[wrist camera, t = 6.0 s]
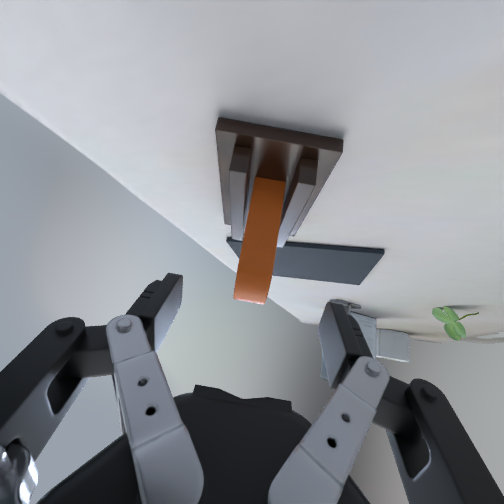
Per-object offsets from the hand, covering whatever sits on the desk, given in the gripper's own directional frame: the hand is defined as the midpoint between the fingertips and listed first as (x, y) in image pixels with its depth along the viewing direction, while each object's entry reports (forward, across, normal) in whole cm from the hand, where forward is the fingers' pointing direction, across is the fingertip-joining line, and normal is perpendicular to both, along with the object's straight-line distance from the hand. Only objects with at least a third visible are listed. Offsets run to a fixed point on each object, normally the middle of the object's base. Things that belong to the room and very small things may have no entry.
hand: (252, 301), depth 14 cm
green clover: (+34, -43, +19) cm, 58 cm away
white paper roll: (+76, -63, +60) cm, 115 cm away
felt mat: (+25, -8, +10) cm, 28 cm away
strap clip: (+43, -26, +28) cm, 58 cm away
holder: (+12, 0, -4) cm, 12 cm away
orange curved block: (+11, 0, -3) cm, 11 cm away
